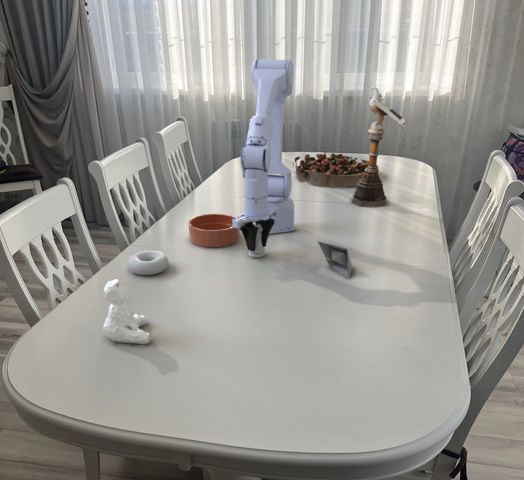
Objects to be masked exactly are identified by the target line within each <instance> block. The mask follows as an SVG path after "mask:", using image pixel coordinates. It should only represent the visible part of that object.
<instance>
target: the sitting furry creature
mask: <svg viewBox="0 0 524 480" xmlns="http://www.w3.org/2000/svg"><path fill="white" fill-rule="evenodd" d="M103 288H104V289H103V295H104V296H105V299H106V300H107V301H108V302H109V303H110V304H109V307H108V313H107V317H106V318H105V319H104V320H105V321H104V324H103V326H102V330H103V334H104V336H106V338H108V339H109V340H110V341H113V342H114V343H123V344H124V343H125V344H137V345H139V344H140V345H147V344H149V343H150V338H151V337H150V336H151V335H150V333H149V332H147V331H144V330H143V329H140V327H143V326H145V325H147V318H146V316H145V315H140V314H134V313H133V311H132V307H131V306H130V304H129V300H130V295H129V293H128V291H127V288H126V287H125V286H122V284H121V282H120V280H118V278H116V279H112V280H108V281H107V282H106V284H105V285H104V286H103Z"/></svg>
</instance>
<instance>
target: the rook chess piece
mask: <svg viewBox="0 0 524 480" xmlns="http://www.w3.org/2000/svg"><path fill="white" fill-rule="evenodd" d="M253 224H254V226H256V224H255V223H253ZM256 227H259V228H258V231H257V235H256V246H255V251H250V250H248V249H247V251H248V253H247V254H248V256H249V257H250V258H252V259H262V258H263V257H264V256H265V255H266V252H265V251H266V249H265V247H263V245H262V241H261V236H262V234H261V232H262V230H263V229H262V227H261V225H260V224H258V226H256Z"/></svg>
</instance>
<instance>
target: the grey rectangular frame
mask: <svg viewBox="0 0 524 480" xmlns="http://www.w3.org/2000/svg"><path fill="white" fill-rule="evenodd" d="M317 243H318V245H319V247H320V249H321V251H322V253H323V255H324V257H325V260H326V261H327V263H328V266H329V268H331V269H333V270H334V271H335V272H338V273H339V274H341V275H342V276H345V277H347V278H348V279H350V277H351V273H352V270H353V265H352V260H351V256H350V251H349V249H348V248H345V247H342V246H337V245H333V244H330V243H326V242H322V241H317Z"/></svg>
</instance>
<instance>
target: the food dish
mask: <svg viewBox="0 0 524 480" xmlns="http://www.w3.org/2000/svg"><path fill="white" fill-rule="evenodd" d="M315 156H316V157H315ZM315 156H310V154H309V153H308V154H305V155H304V159H301V156H296V157H294V162H293V161H291V164H292V166H293V167H294V168H295V172H296V173H295V175H296V178H297V180H298V181H299V182H301V183H303V181H304V182H308V183H309V184H310V185H312V186H316V187H325V188H357V184H358V182H359V180H360V179H361V178H362V176H363V174H364V172H365V171H364V170H365V169H366V168H367V167H368V165H369V160H366V159H360V161H361V162H358V161H357V160H359V159H358V157H354V156H348V155H344V154H343V153H339V154H335V153H334V152H333V153H331V154H330V156H329V157H327V152H324V153H317V154H315ZM300 159H301V160H300ZM299 160H300V161H299ZM298 161H299V165H297V162H298ZM294 164H295V165H294ZM376 167H377V168H378V170H380V167H379V165H378V164H376Z"/></svg>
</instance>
